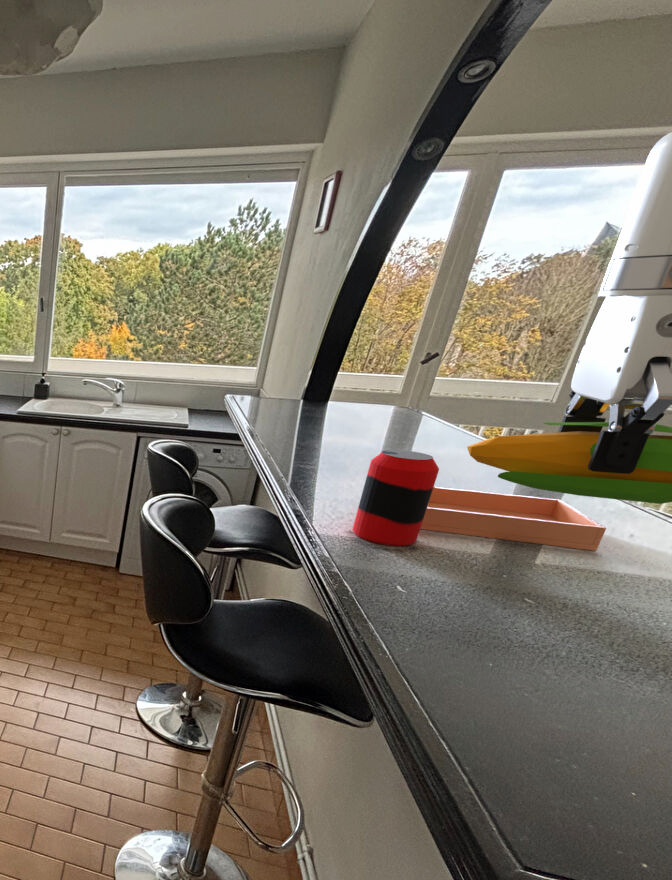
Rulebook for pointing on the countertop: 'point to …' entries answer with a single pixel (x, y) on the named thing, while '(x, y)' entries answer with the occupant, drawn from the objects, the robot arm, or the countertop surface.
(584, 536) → the pan
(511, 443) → the corn
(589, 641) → the countertop surface
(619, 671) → the countertop surface
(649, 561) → the countertop surface
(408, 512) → the soda can
